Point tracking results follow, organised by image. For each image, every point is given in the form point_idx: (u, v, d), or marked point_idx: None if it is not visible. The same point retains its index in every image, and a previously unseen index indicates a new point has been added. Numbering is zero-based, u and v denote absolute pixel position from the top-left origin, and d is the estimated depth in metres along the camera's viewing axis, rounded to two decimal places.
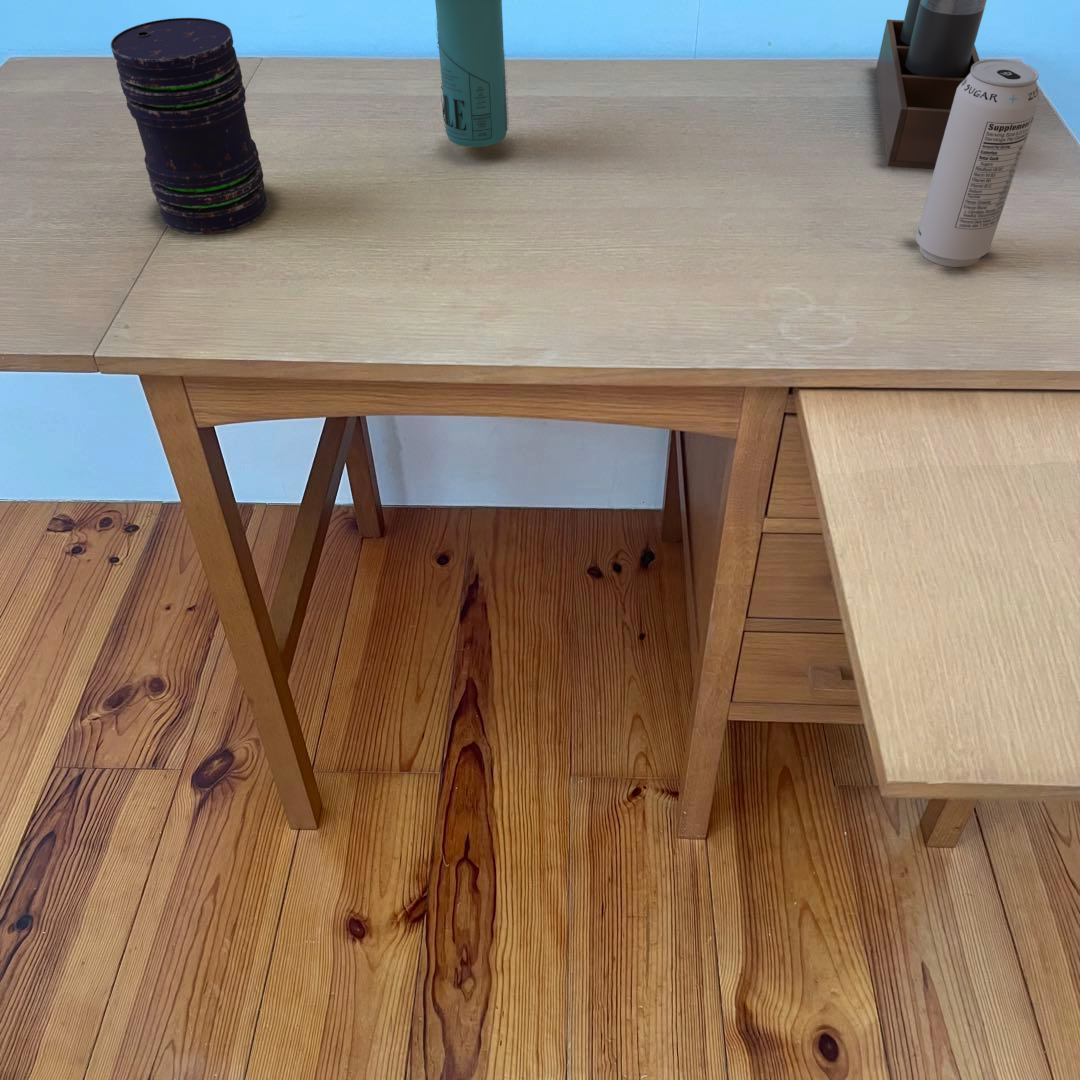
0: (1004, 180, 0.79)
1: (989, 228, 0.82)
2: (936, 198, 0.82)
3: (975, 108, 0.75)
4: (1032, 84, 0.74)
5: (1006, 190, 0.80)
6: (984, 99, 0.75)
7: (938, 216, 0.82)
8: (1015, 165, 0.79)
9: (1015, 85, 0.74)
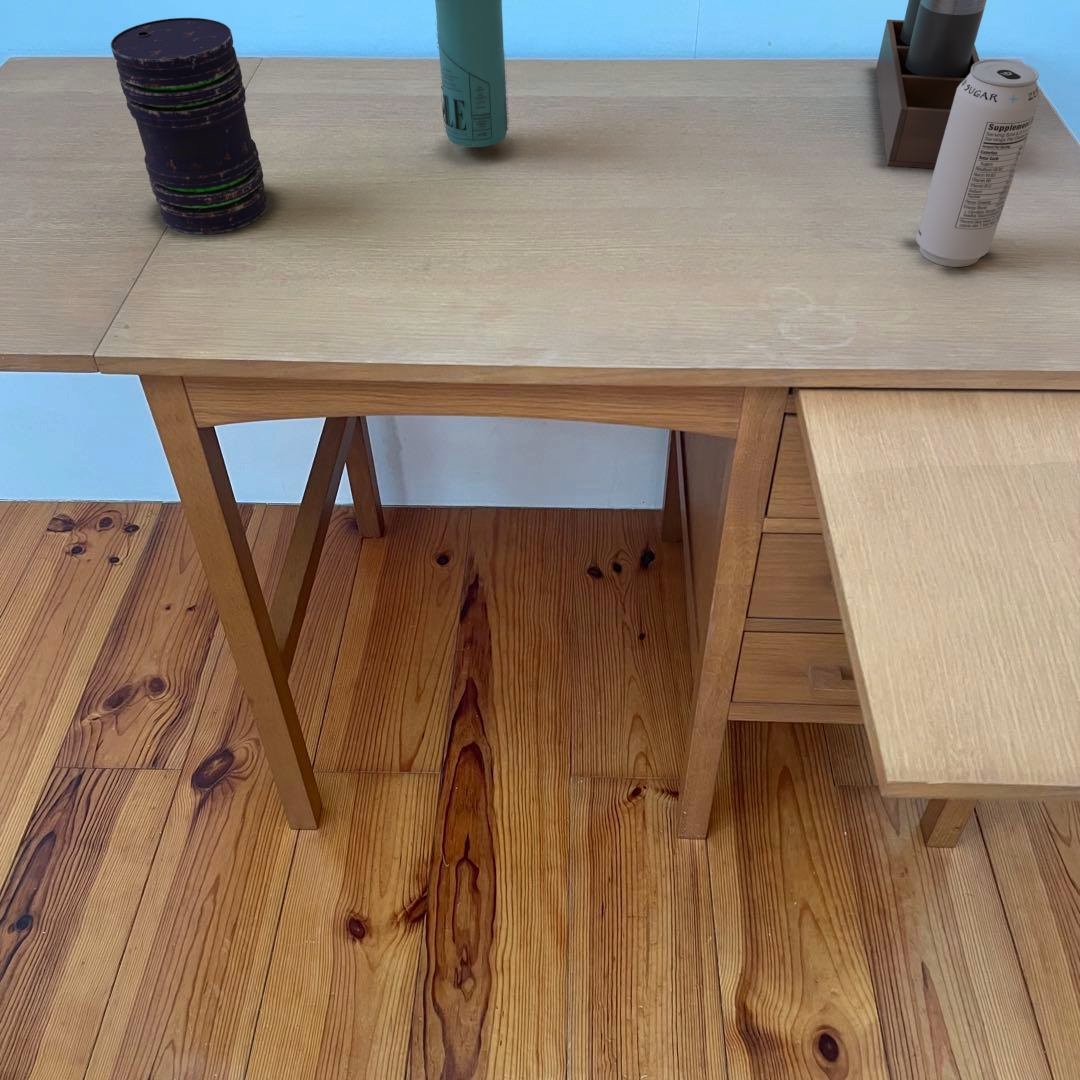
0: (1004, 180, 0.79)
1: (989, 228, 0.82)
2: (936, 198, 0.82)
3: (975, 108, 0.75)
4: (1032, 84, 0.74)
5: (1006, 190, 0.80)
6: (984, 99, 0.75)
7: (938, 216, 0.82)
8: (1015, 165, 0.79)
9: (1015, 85, 0.74)
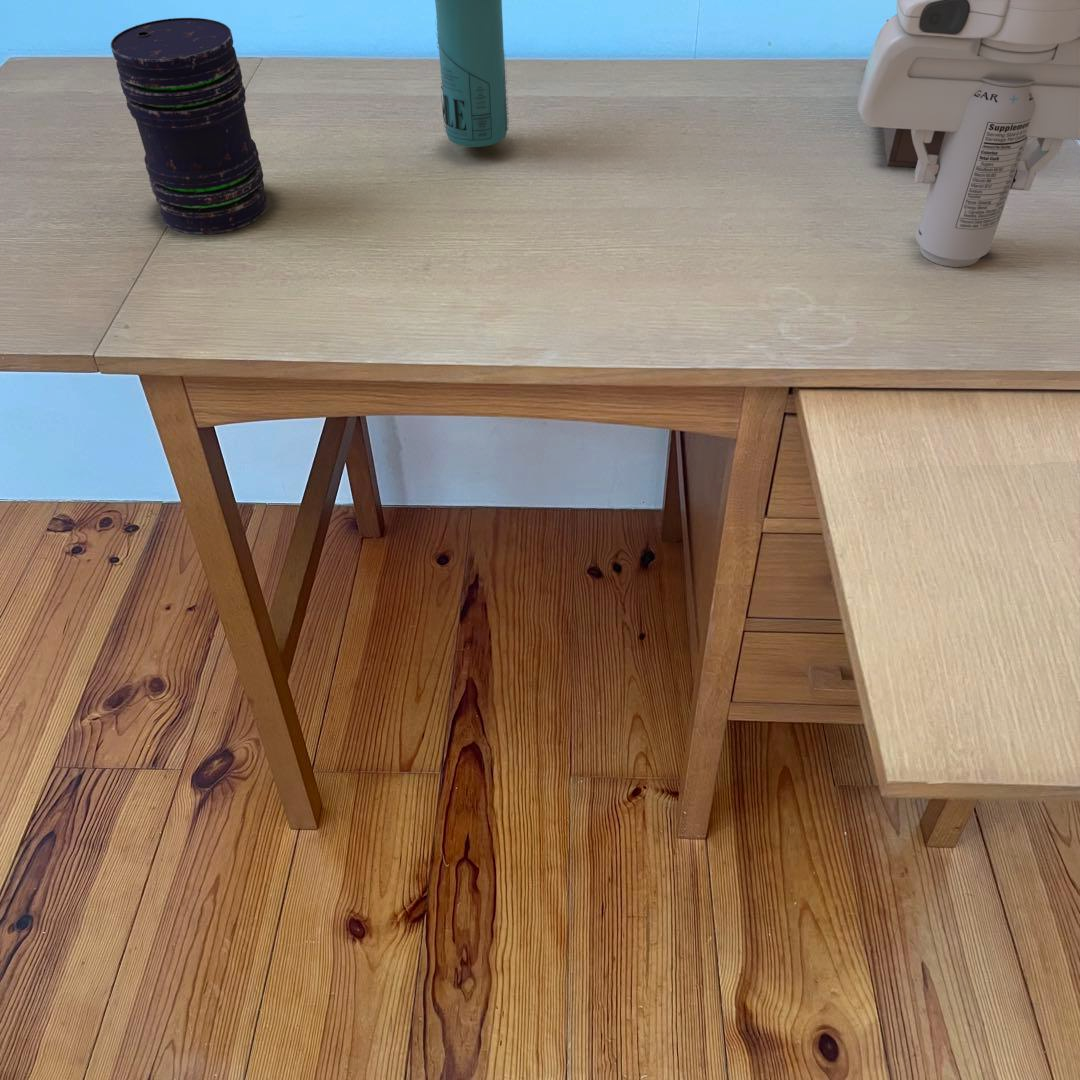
0: (1004, 180, 0.79)
1: (990, 228, 0.82)
2: (936, 198, 0.82)
3: (976, 108, 0.75)
4: None
5: (1006, 190, 0.80)
6: (985, 99, 0.75)
7: (938, 216, 0.82)
8: (1015, 165, 0.79)
9: (1015, 85, 0.74)
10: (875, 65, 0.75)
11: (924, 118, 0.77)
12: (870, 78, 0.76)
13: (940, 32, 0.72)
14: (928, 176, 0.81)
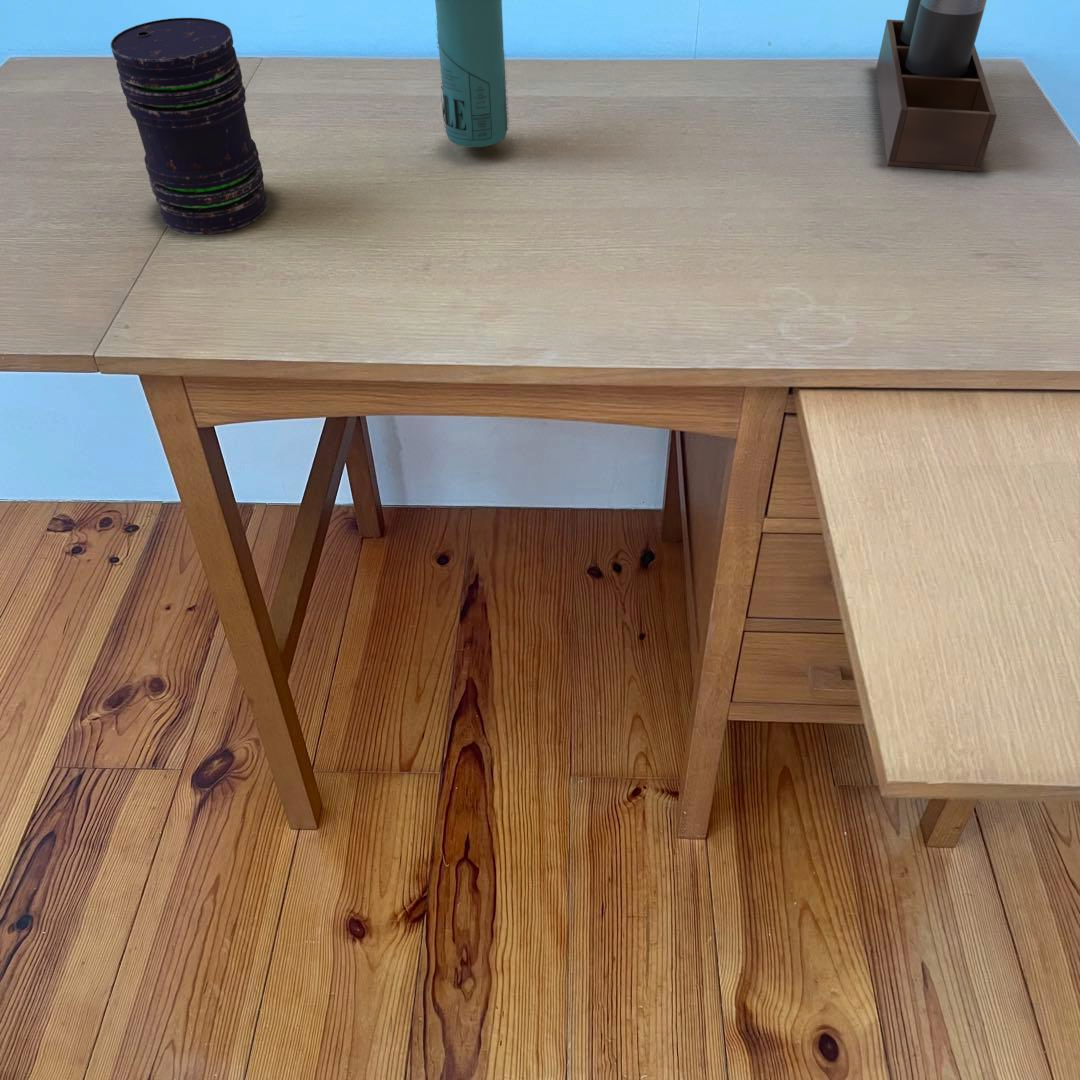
0: None
1: None
2: None
3: None
4: None
5: None
6: None
7: None
8: None
9: None
10: None
11: None
12: None
13: None
14: None
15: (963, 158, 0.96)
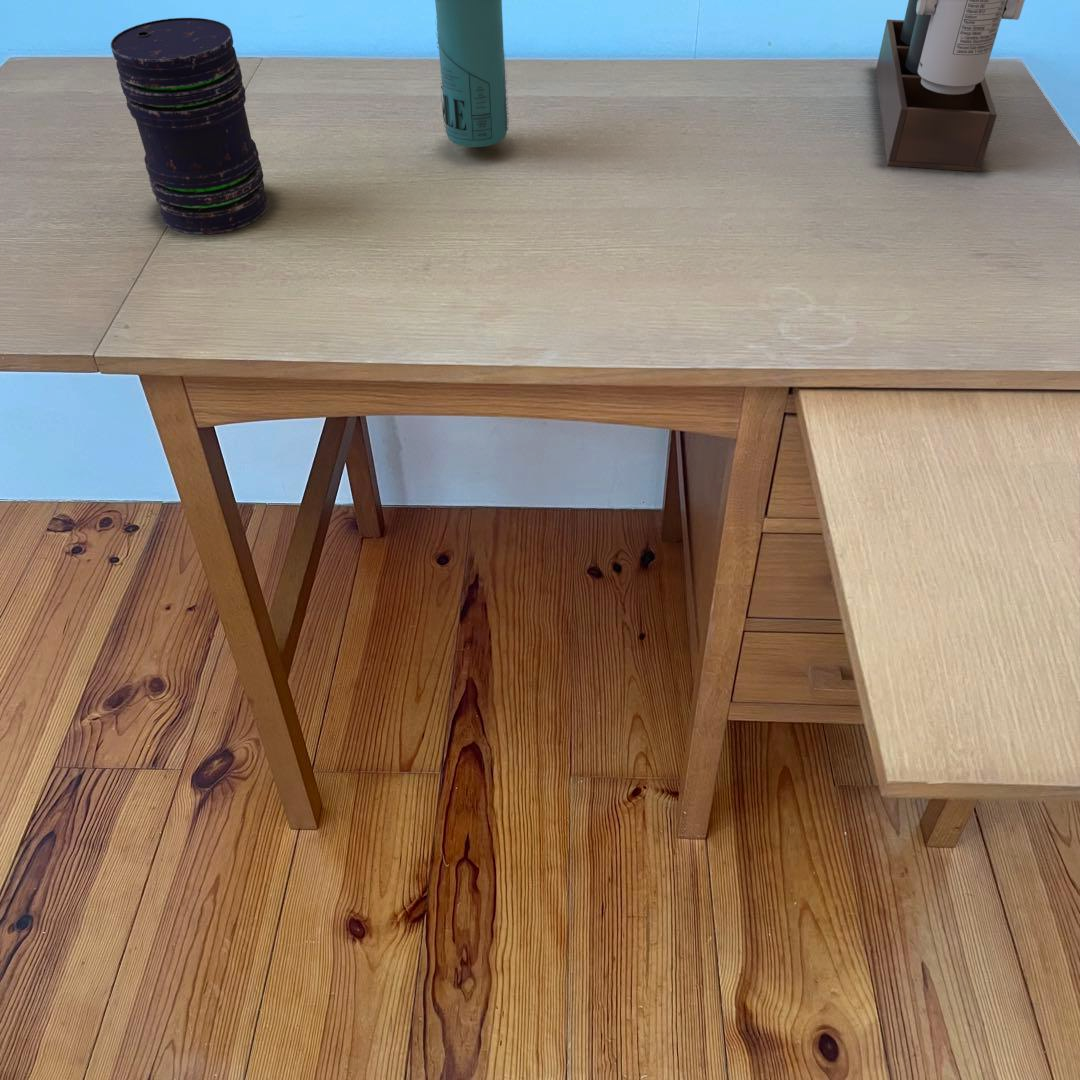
0: (996, 6, 0.88)
1: (983, 55, 0.91)
2: (935, 27, 0.91)
3: None
4: None
5: (998, 17, 0.90)
6: None
7: (938, 45, 0.92)
8: None
9: None
10: None
11: None
12: None
13: None
14: (928, 7, 0.91)
15: (963, 158, 0.96)
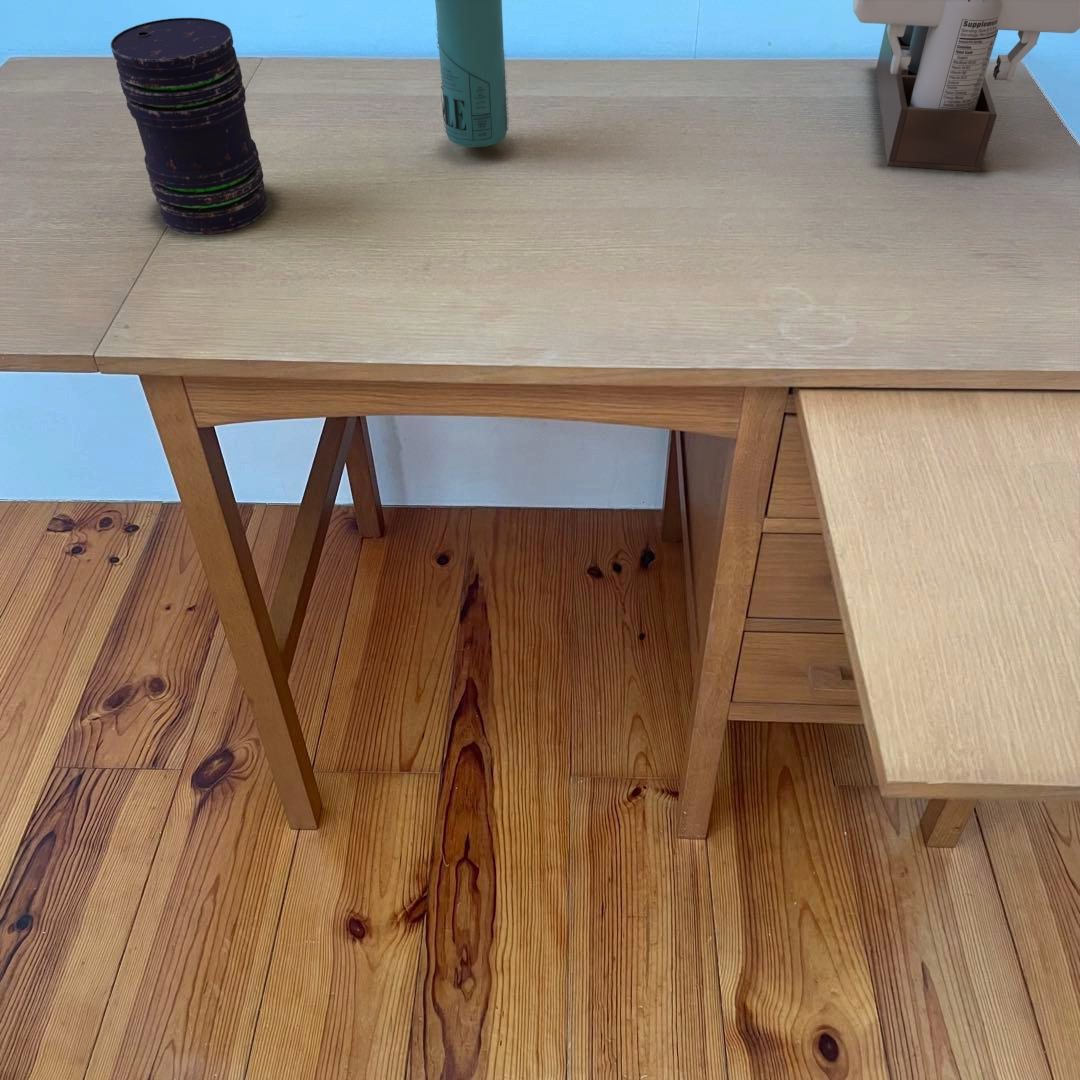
0: (977, 72, 0.92)
1: None
2: (920, 91, 0.95)
3: (952, 8, 0.89)
4: None
5: (980, 82, 0.94)
6: None
7: (922, 107, 0.96)
8: (987, 59, 0.92)
9: None
10: None
11: (909, 14, 0.91)
12: None
13: None
14: (901, 67, 0.95)
15: (963, 158, 0.96)
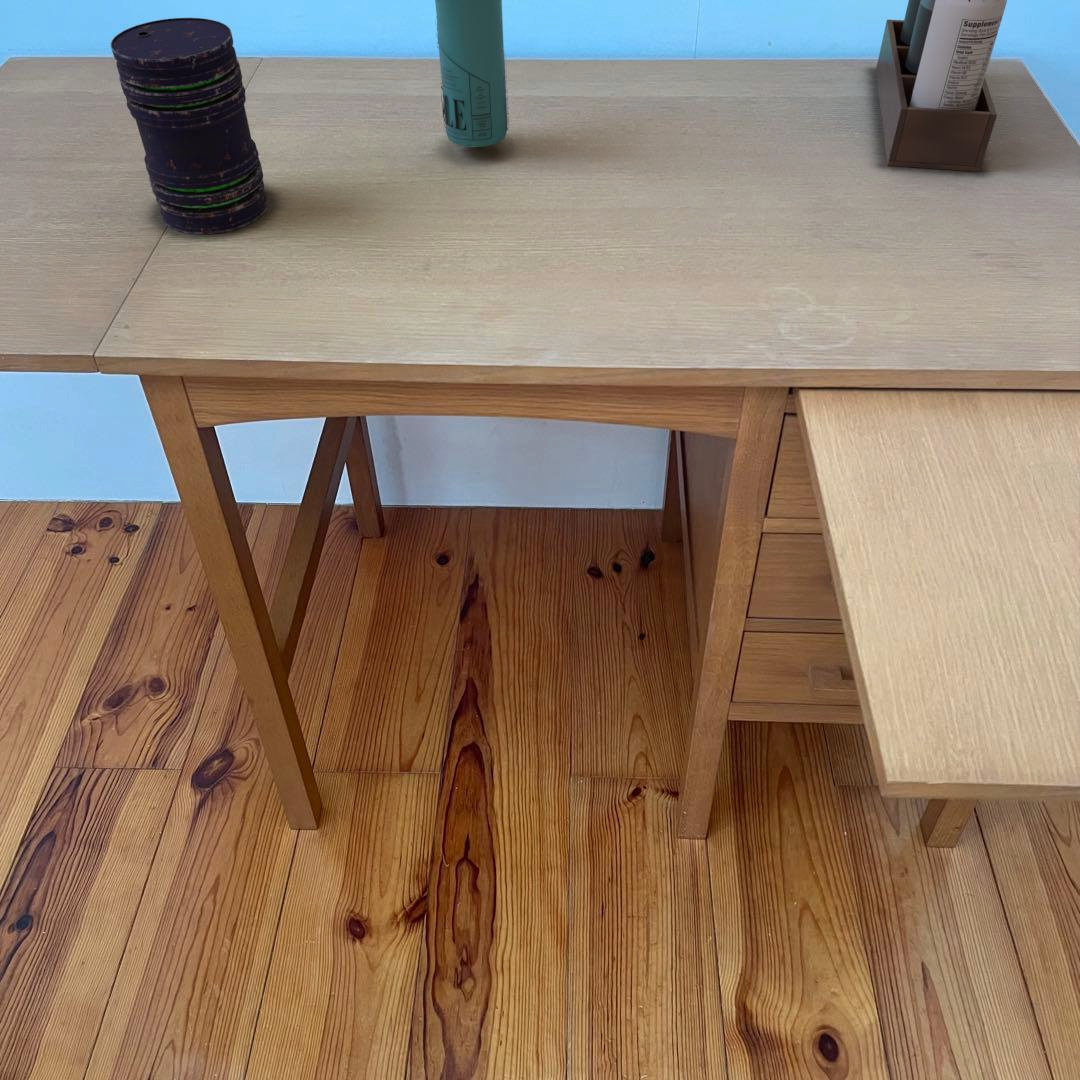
0: (977, 72, 0.92)
1: None
2: (920, 91, 0.95)
3: (952, 8, 0.89)
4: None
5: (980, 82, 0.94)
6: None
7: (922, 107, 0.96)
8: (987, 60, 0.92)
9: None
10: None
11: None
12: None
13: None
14: None
15: (963, 158, 0.96)
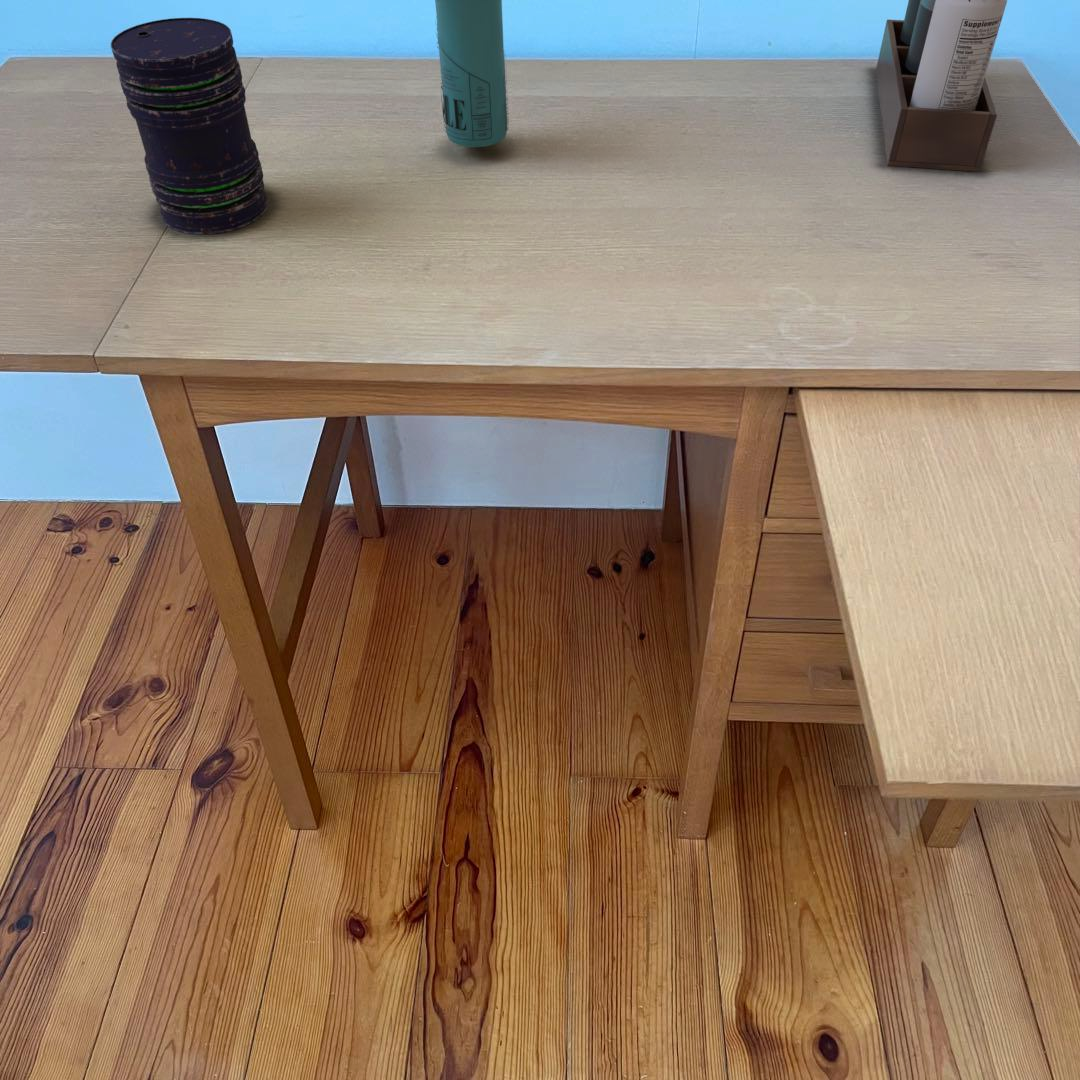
0: (977, 72, 0.92)
1: None
2: (920, 91, 0.95)
3: (952, 8, 0.89)
4: None
5: (980, 82, 0.94)
6: None
7: (922, 107, 0.96)
8: (987, 60, 0.92)
9: None
10: None
11: None
12: None
13: None
14: None
15: (963, 158, 0.96)
